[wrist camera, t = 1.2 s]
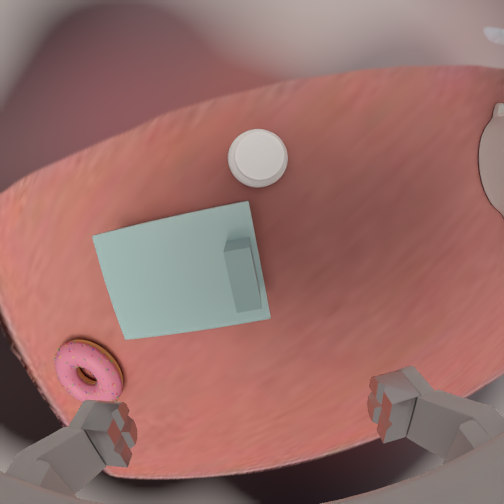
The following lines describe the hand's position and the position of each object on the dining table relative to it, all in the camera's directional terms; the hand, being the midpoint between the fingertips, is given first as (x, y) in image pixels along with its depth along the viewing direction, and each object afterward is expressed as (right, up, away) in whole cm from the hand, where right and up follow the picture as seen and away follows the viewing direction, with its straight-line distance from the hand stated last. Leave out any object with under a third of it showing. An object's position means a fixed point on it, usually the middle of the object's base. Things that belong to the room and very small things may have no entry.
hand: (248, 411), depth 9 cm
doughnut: (-23, -11, +29) cm, 39 cm away
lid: (-7, +3, +20) cm, 21 cm away
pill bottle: (+1, +15, +23) cm, 27 cm away
